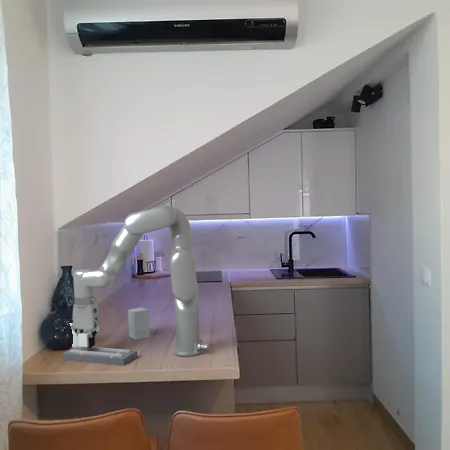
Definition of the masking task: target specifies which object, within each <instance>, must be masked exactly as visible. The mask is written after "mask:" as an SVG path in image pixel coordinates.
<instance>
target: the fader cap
mask: <svg viewBox="0 0 450 450" xmlns="http://www.w3.org/2000/svg"><path fill="white" fill-rule="evenodd" d="M89 337H90V336H89V332H88V331H85V332H82V333H80V334H78V341H79V346H81V347H82V351H90V350H92V347H91V348H90V347H89V340H88V338H89Z"/></svg>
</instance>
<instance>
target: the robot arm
mask: <svg viewBox="0 0 450 450" xmlns="http://www.w3.org/2000/svg"><path fill="white" fill-rule="evenodd" d="M167 228H168V230H169V234H170V243H171V244H170V245H171V256H170V259H169V268H170V278H171V288H172V289H171V291H172V293H173V296H174V317H175V318H174V320H175V340H176V341H175V345H176V346H175V347H174V348H173V349H172V354H173V355H174V356H178V357H194V356H198V355H200V354H203V353H204V352H205V351H207V350H208V351H209V349H210V345H209V343H205V342H203V339H200V337H201V336H200V334H201V333H200V332H201V331H200V317H199V315H200V311H199V309H200V308H199V284H198V281H197V280H198V279H197V268H196V256H195V253H194V245H193V244H194V242H193V235H192V227H191V224H190V221H189V219H188V217H187V216H186V214H185V213H184V212H183V211H181V210H180V209H178V208H176V207H174V206H172V205H167V204H166V205H161V206H156V207H153V208H150V209H147V210H141V211H137V212H133V213H132V212H131V213H129V214H128V215H127V216H126V218H125V219H124V222H123V225H122V227H121V228H120V230H119V232H118V233H117V235H116V236H115V238H114V240H113V241H112V243H111V245H110V246H111V247H110V250H109V252H108V255H107V257H106V258H105V259H104V261H103V263H102V265H101V266H100V267H99V268H98V269H96V270H95V269H94V270H91V269H90V268H89V269H87V268H84V269H83V268H82V269H81V268H80V269H76V270H74V271H73V273H72V275H73V277H72V279H73V293H74V294H73V295H74V304H73V307H72V320H73V324H72V326H71V329H72V330H74V332H75V333H76V334H77V336H78V334H80V333H82V332H84V330H88V332H89V336H90V337H89V338H88V340H89V347H90V348H91V347H96V346H95V345H96V336H97V334H98V333H99V332H101V330H102V329H103V328H102V327H101V325H100V324H101V320H100V313H99V308H98V305H97V303H96V301H97V298H95V291H94V290H95V289H105V288H107V287H109V285H111V284H112V283H113V282H114V280H115V279H116V277H117V276H118V275H119V273H120V271H122V268H123V266H124V265H125V263H126V262H127V261H128V259H129V258H130V256H131V255H132V253H133V251H135V248H136V247H137V245H138V244H139V242H140V240H141V239H142V238H143V236H144V235H145V234H146V233H151V232H155V231H159V230H163V229H167ZM79 347H81V346H79Z"/></svg>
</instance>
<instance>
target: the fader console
mask: <svg viewBox="0 0 450 450" xmlns="http://www.w3.org/2000/svg"><path fill="white" fill-rule="evenodd" d="M137 358H138V350H131V349H122V348H110V347H109V348H108V347H99V346H98V347H97V346H93V347H92V350H90V351H82V347H79V346H77V347H75V348H70V349H69V350H66V351H64V352H62V360H65V361H73V362H74V361H75V362H83V363H92V364H93V363H95V364H103V365H112V366H113V365H114V366H125V365H127V364H129V363H131V362H132V361H134V360H135V359H137Z"/></svg>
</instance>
